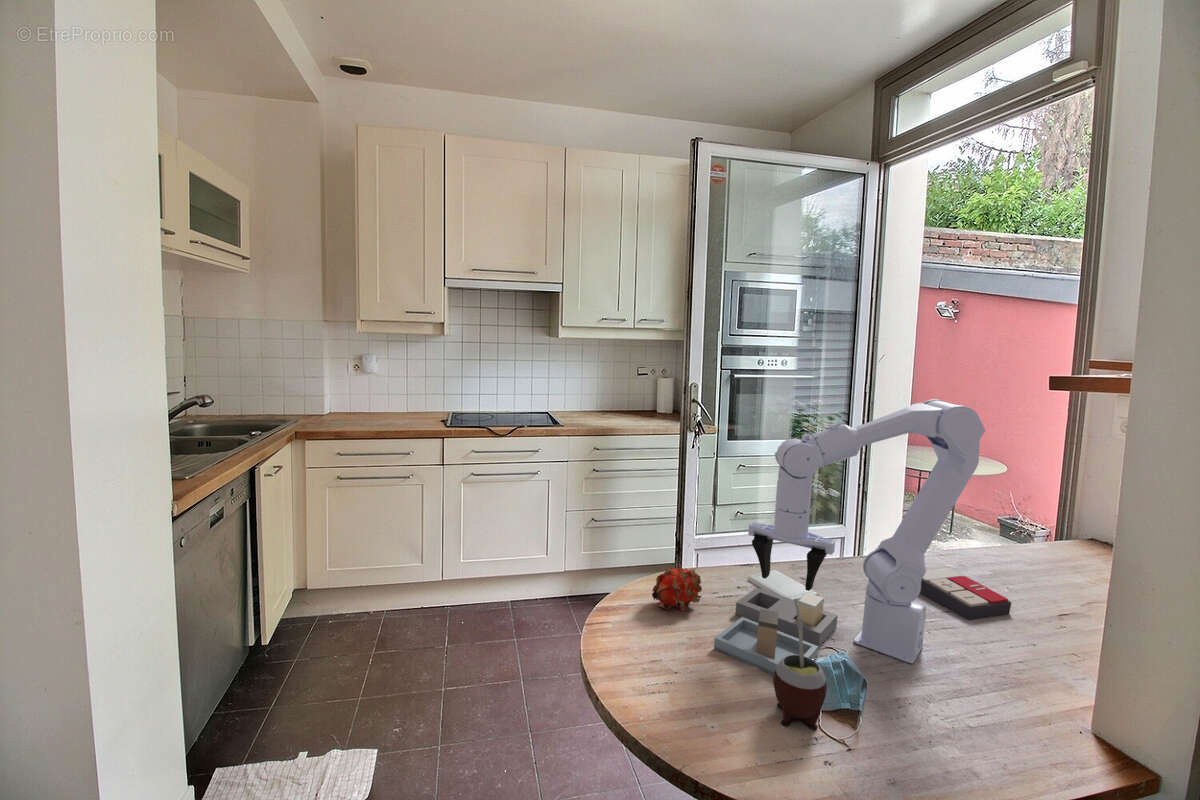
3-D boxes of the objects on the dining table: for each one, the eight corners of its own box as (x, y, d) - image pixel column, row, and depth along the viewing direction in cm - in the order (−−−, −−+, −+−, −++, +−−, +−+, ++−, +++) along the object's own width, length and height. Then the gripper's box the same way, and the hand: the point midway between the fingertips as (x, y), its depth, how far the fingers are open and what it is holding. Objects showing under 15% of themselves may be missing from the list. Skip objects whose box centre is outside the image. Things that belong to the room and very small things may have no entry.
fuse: (821, 628, 106) (824, 597, 105) (812, 637, 103) (815, 606, 102) (805, 622, 108) (807, 592, 107) (795, 631, 104) (798, 600, 104)
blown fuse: (775, 645, 99) (778, 612, 98) (774, 658, 94) (777, 624, 94) (757, 641, 100) (760, 608, 99) (756, 655, 95) (758, 621, 95)
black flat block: (971, 605, 111) (909, 569, 125) (967, 625, 111) (906, 587, 125) (1013, 599, 114) (948, 564, 128) (1009, 618, 115) (945, 582, 129)
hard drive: (748, 575, 125) (790, 599, 115) (776, 569, 129) (819, 592, 118) (747, 582, 126) (789, 607, 115) (775, 576, 129) (819, 600, 118)
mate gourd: (803, 742, 76) (813, 636, 74) (755, 709, 82) (763, 610, 81) (835, 721, 81) (845, 620, 79) (787, 691, 87) (795, 597, 85)
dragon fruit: (703, 607, 116) (656, 630, 109) (679, 572, 120) (633, 592, 114) (719, 586, 110) (671, 609, 104) (694, 550, 115) (646, 570, 108)
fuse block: (836, 627, 106) (837, 615, 106) (818, 646, 100) (820, 633, 99) (756, 598, 117) (757, 587, 116) (735, 614, 110) (736, 602, 110)
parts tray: (817, 657, 96) (818, 646, 96) (793, 683, 89) (794, 671, 88) (741, 627, 105) (741, 616, 105) (713, 648, 98) (714, 637, 97)
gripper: (841, 511, 99) (835, 585, 101) (759, 495, 107) (755, 564, 109) (831, 521, 93) (825, 600, 95) (746, 504, 102) (741, 576, 103)
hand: (786, 582), depth 102 cm, fingers open, 7 cm apart
